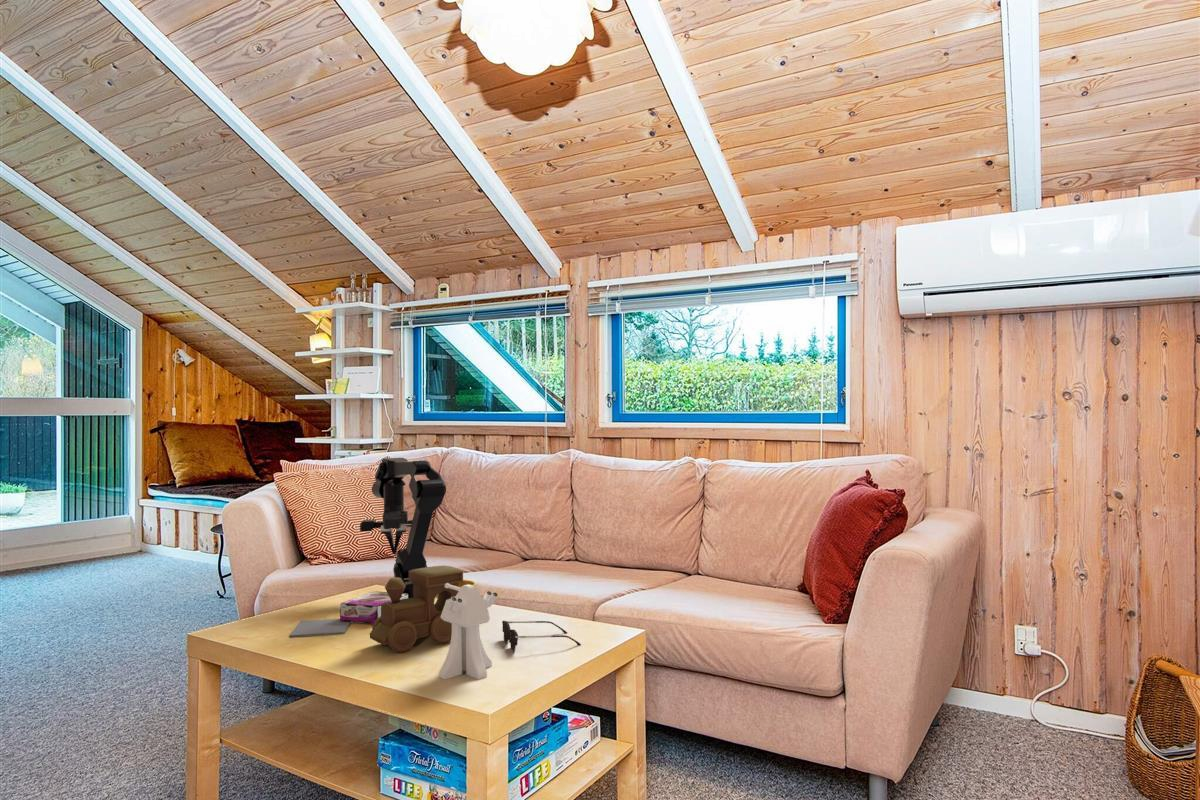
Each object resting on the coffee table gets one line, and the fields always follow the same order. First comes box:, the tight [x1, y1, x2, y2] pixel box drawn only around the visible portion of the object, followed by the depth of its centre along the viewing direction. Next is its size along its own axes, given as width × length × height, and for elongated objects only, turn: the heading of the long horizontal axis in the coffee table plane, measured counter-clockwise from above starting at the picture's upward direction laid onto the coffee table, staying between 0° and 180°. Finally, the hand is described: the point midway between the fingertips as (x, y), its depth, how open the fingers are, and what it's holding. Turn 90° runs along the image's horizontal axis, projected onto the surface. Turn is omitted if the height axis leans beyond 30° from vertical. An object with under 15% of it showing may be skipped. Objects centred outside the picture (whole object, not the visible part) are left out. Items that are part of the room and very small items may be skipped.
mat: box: [288, 618, 352, 638], centre depth 202 cm, size 13×14×1 cm
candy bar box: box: [339, 590, 408, 625], centre depth 213 cm, size 11×5×16 cm
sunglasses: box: [501, 620, 582, 653], centre depth 187 cm, size 14×16×5 cm
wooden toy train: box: [369, 565, 464, 653], centre depth 188 cm, size 20×11×17 cm, turn 129°
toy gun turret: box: [438, 583, 499, 680], centre depth 167 cm, size 12×13×18 cm
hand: (394, 553), depth 235 cm, fingers closed
